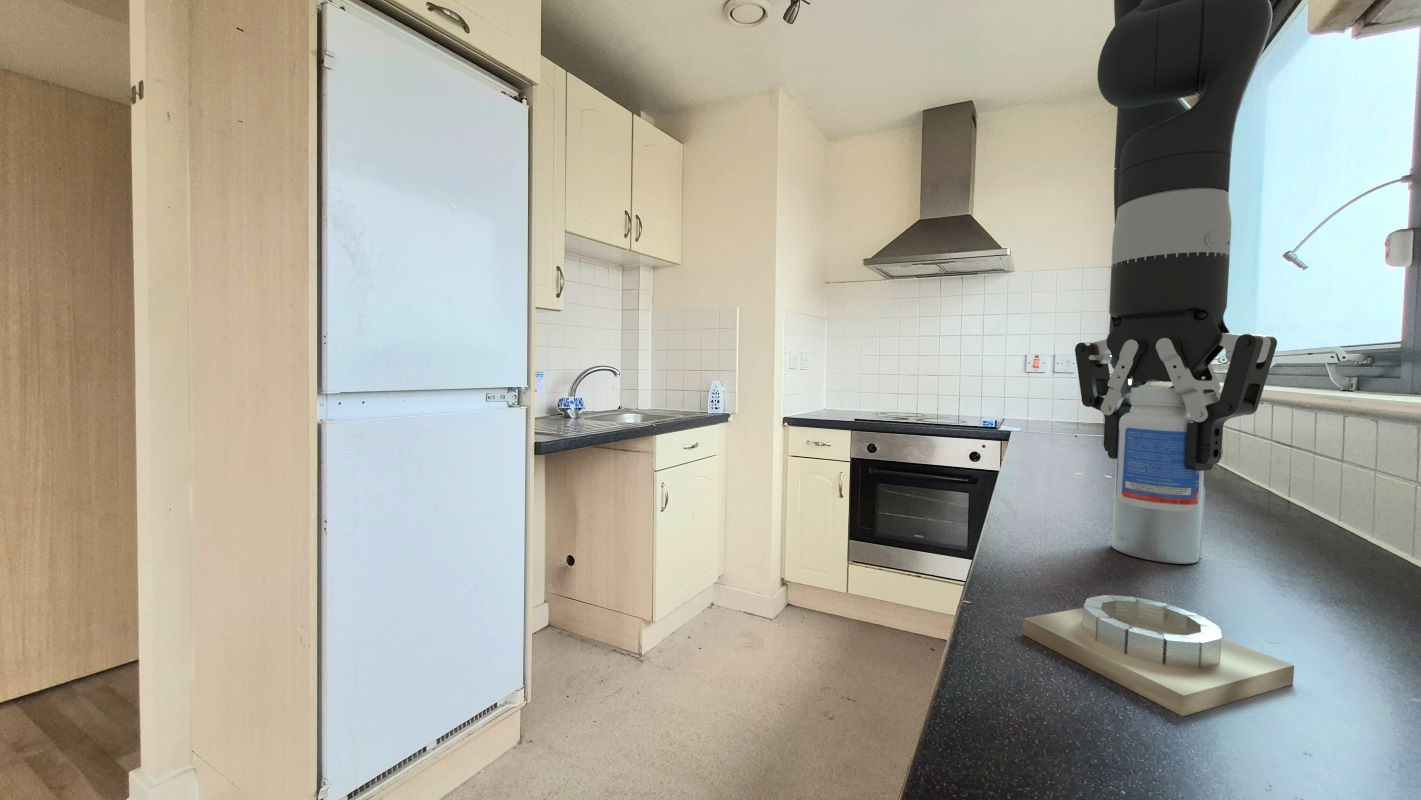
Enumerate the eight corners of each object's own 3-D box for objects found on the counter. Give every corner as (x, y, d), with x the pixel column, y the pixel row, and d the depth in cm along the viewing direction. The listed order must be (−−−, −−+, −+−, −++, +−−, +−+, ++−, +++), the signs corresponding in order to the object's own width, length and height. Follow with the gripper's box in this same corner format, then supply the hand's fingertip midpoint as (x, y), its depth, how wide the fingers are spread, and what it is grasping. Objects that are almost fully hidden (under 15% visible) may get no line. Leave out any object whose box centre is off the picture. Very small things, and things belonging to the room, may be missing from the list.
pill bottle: (1214, 515, 44) (1222, 389, 43) (1136, 510, 45) (1142, 387, 44) (1172, 499, 49) (1178, 387, 49) (1102, 496, 50) (1108, 386, 50)
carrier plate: (1121, 615, 56) (1122, 600, 56) (1292, 684, 44) (1294, 665, 44) (1022, 634, 52) (1023, 618, 52) (1182, 716, 39) (1183, 695, 39)
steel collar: (1129, 611, 53) (1130, 590, 53) (1246, 656, 45) (1248, 632, 45) (1059, 624, 50) (1060, 602, 50) (1171, 675, 42) (1172, 649, 42)
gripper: (1312, 243, 41) (1297, 477, 42) (1111, 275, 54) (1103, 451, 55) (1247, 233, 38) (1232, 482, 39) (1054, 269, 52) (1046, 453, 52)
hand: (1156, 462), depth 47 cm, fingers closed on pill bottle, 5 cm apart
